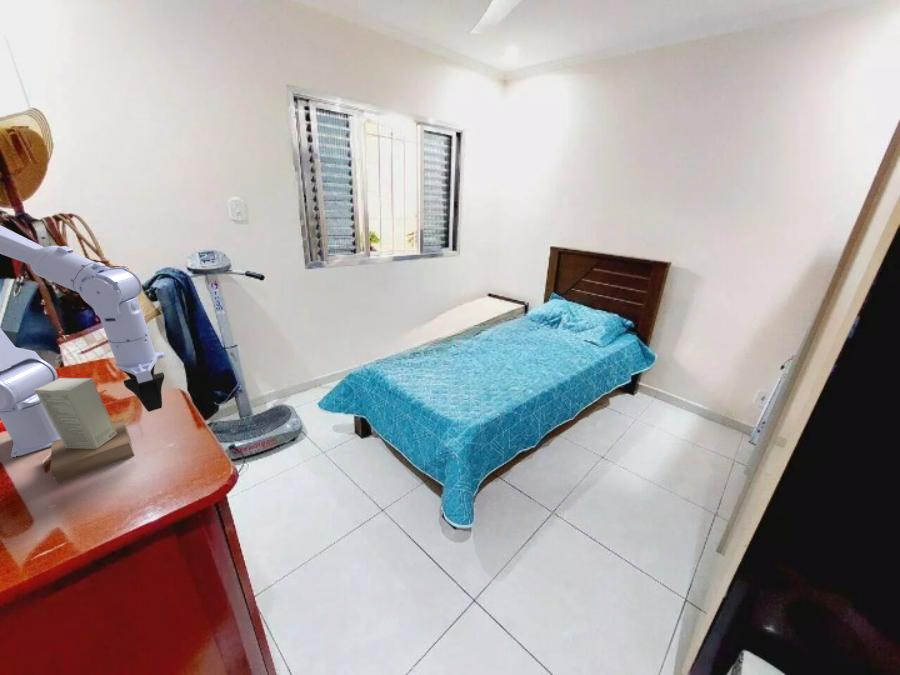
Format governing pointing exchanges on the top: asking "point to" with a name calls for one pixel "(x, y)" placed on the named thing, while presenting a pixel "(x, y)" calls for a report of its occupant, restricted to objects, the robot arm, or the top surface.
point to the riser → (89, 455)
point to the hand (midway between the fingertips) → (151, 401)
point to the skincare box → (77, 412)
